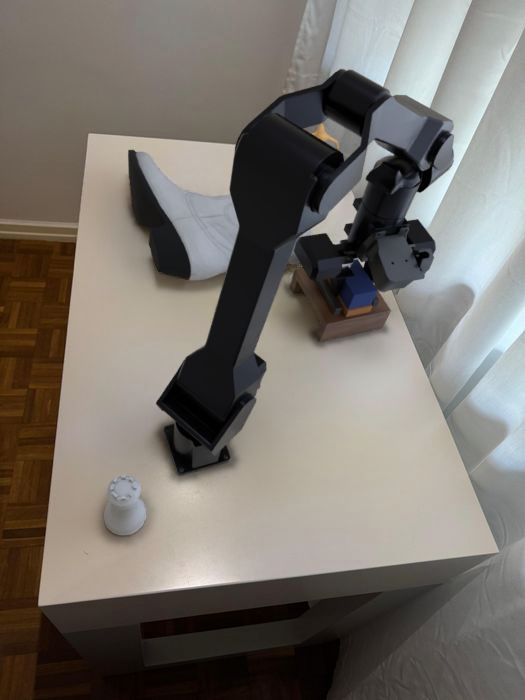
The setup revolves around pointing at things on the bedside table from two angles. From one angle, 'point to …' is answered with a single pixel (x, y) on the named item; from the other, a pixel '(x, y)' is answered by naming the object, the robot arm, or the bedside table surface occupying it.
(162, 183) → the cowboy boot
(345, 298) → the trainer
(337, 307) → the brown piece
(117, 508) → the rook chess piece
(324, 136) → the figurine
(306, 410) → the bedside table surface
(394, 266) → the robot arm
